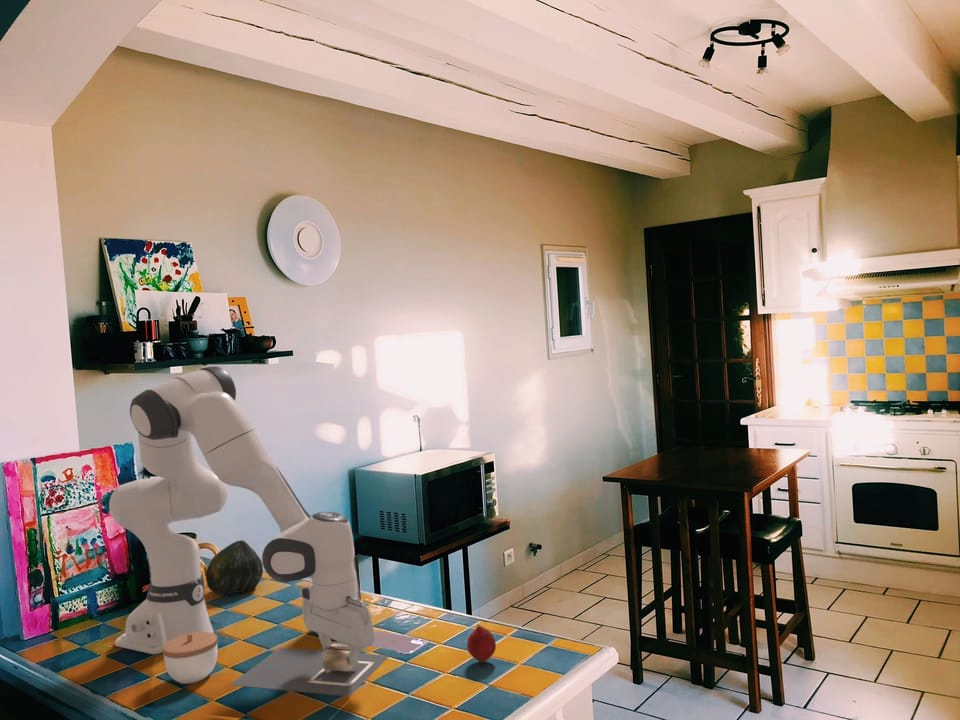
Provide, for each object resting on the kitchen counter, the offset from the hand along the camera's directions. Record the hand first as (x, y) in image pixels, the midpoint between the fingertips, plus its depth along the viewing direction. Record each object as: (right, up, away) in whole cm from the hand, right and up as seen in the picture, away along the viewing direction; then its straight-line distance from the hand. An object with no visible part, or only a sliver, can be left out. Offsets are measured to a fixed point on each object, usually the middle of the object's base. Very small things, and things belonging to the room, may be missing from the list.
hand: (340, 659), depth 153 cm
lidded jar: (-31, -6, +3) cm, 32 cm away
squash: (-40, -4, +59) cm, 71 cm away
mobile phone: (+9, -3, +14) cm, 17 cm away
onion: (+29, -1, +1) cm, 29 cm away
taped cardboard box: (0, -1, 0) cm, 1 cm away
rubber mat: (-6, -4, +2) cm, 8 cm away
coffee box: (-5, -3, +28) cm, 29 cm away
